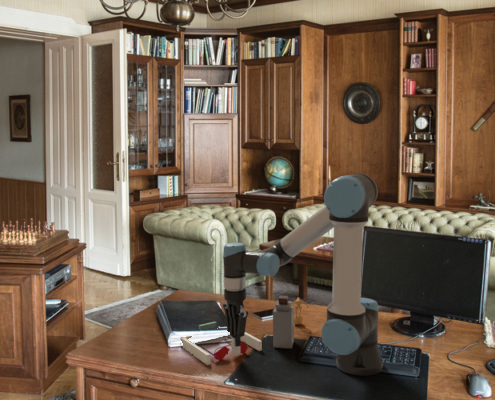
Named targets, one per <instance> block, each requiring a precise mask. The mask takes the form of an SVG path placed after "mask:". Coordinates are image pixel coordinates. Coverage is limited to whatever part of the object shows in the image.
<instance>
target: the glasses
mask: <svg viewBox="0 0 495 400" xmlns="http://www.w3.org/2000/svg"><path fill="white" fill-rule="evenodd" d="M226 338H228V339H230V340H231V336H227V337H226ZM196 345H197V346H198V347H200V348H201V349H203V350H204V351H206V352H207V353H209V354H210V355H212V356H213V357H214V359H216V360H218V361H222V360H223V359H225V357H226V356H227V355H229V351H230V350H231V349H230V348H228V347H229V346H231V344H228V345H224V346H220V347H218V348H215V350H214V352H213V353H212V352H211V351H209V350H208V349H207V348H204V347H203V346H202V345H200V344H196ZM248 349H249V346H248V345H247V344H246V343H245V342H242V341H241V345H240V354H246V353H247V351H248Z"/></svg>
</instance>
